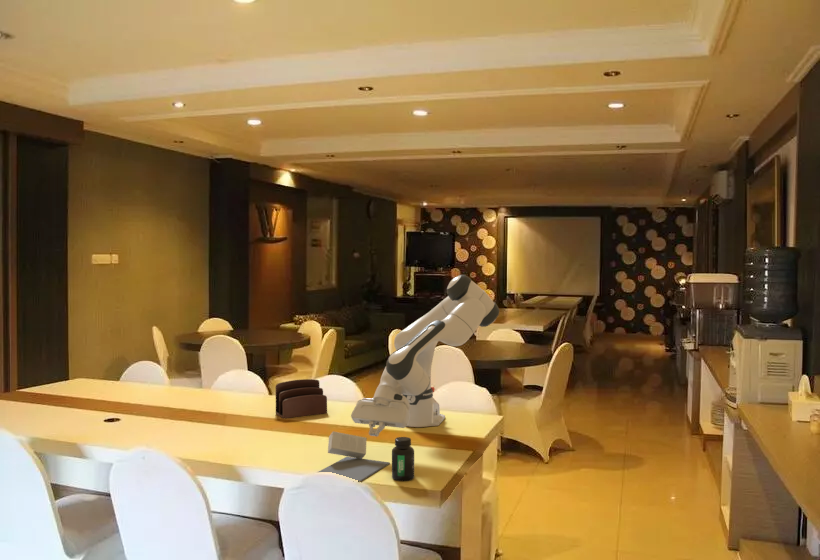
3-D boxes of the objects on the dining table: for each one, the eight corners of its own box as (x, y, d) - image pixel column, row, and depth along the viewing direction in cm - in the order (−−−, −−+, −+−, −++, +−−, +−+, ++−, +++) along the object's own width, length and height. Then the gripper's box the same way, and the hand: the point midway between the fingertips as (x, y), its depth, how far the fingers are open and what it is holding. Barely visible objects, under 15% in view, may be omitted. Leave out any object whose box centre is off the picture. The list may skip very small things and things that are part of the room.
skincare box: (362, 442, 235) (328, 436, 232) (367, 437, 232) (332, 430, 228) (361, 459, 231) (327, 453, 228) (366, 454, 228) (331, 447, 225)
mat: (346, 458, 233) (346, 456, 233) (389, 463, 226) (389, 462, 226) (314, 475, 215) (314, 473, 215) (359, 482, 208) (359, 480, 208)
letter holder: (275, 414, 298) (275, 381, 297) (319, 409, 307) (318, 377, 307) (282, 419, 289) (282, 385, 288) (327, 413, 298) (327, 381, 298)
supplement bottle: (403, 483, 207) (403, 443, 207) (387, 478, 212) (387, 439, 211) (419, 477, 212) (418, 438, 212) (402, 472, 217) (402, 434, 216)
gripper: (356, 392, 242) (342, 427, 234) (409, 397, 234) (397, 433, 225) (362, 402, 247) (349, 437, 238) (415, 407, 238) (403, 443, 230)
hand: (373, 435), depth 232 cm, fingers closed
